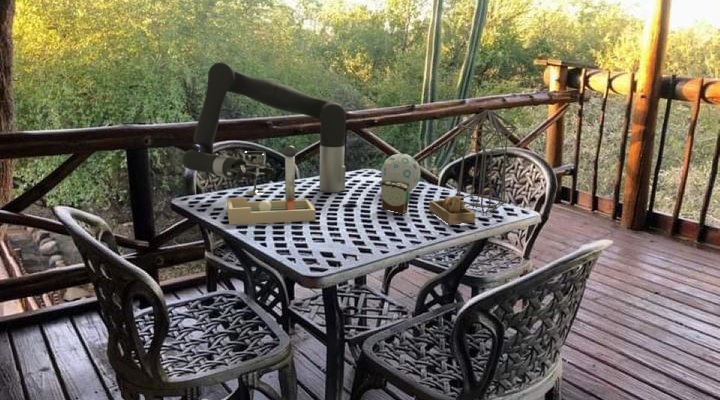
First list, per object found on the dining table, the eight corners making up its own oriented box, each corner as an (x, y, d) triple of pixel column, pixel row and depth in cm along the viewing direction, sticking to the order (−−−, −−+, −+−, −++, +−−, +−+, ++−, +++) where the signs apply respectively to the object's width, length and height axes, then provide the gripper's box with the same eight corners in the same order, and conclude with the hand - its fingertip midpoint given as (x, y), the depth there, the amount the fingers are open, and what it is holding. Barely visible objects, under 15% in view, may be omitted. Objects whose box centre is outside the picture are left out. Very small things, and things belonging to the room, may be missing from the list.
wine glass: (241, 191, 217) (240, 151, 213) (262, 189, 220) (262, 150, 216) (247, 196, 210) (246, 155, 206) (268, 194, 213) (268, 154, 210)
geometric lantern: (447, 213, 196) (454, 109, 187) (472, 205, 207) (480, 106, 198) (488, 224, 185) (498, 114, 176) (512, 214, 197) (522, 111, 188)
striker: (295, 207, 190) (295, 144, 184) (297, 210, 185) (297, 146, 180) (282, 207, 189) (282, 144, 183) (284, 211, 184) (284, 146, 179)
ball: (270, 210, 187) (270, 198, 186) (272, 213, 184) (272, 201, 183) (258, 211, 186) (257, 199, 185) (259, 214, 183) (259, 202, 182)
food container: (418, 212, 196) (419, 183, 193) (406, 216, 191) (408, 186, 189) (390, 205, 204) (391, 177, 201) (378, 208, 199) (379, 180, 197)
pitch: (307, 209, 196) (307, 195, 194) (315, 220, 183) (315, 205, 182) (227, 213, 188) (226, 198, 187) (229, 224, 176) (229, 209, 175)
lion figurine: (465, 225, 184) (467, 197, 181) (449, 225, 183) (451, 198, 180) (449, 212, 198) (451, 186, 195) (434, 212, 196) (436, 186, 194)
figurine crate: (452, 211, 199) (453, 199, 198) (474, 225, 183) (475, 213, 182) (429, 212, 197) (429, 200, 196) (449, 226, 181) (450, 214, 180)
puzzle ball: (374, 194, 218) (375, 155, 214) (387, 186, 232) (389, 149, 228) (412, 199, 213) (415, 159, 209) (424, 190, 226) (426, 152, 222)
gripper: (213, 159, 193) (248, 166, 184) (244, 153, 204) (278, 160, 195) (213, 181, 195) (248, 189, 186) (244, 174, 206) (279, 181, 197)
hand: (264, 174), depth 191 cm, fingers open, 8 cm apart
